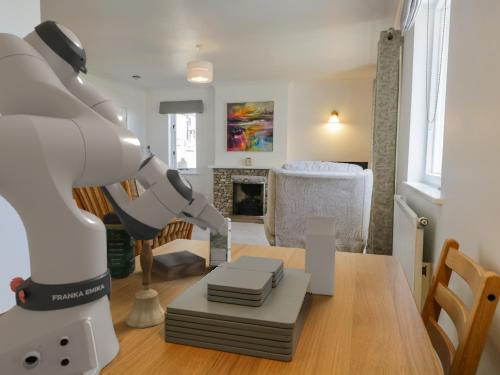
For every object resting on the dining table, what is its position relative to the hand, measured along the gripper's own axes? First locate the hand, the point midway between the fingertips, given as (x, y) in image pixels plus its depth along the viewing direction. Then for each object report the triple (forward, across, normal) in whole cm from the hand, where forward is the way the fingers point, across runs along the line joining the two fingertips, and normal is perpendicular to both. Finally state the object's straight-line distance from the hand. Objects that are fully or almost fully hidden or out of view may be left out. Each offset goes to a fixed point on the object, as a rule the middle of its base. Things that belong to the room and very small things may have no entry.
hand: (214, 230), depth 104 cm
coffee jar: (-10, -13, -24) cm, 29 cm away
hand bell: (-13, +19, -29) cm, 37 cm away
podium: (0, -5, -15) cm, 16 cm away
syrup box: (+8, +2, -7) cm, 11 cm away
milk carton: (+17, +31, -1) cm, 35 cm away
